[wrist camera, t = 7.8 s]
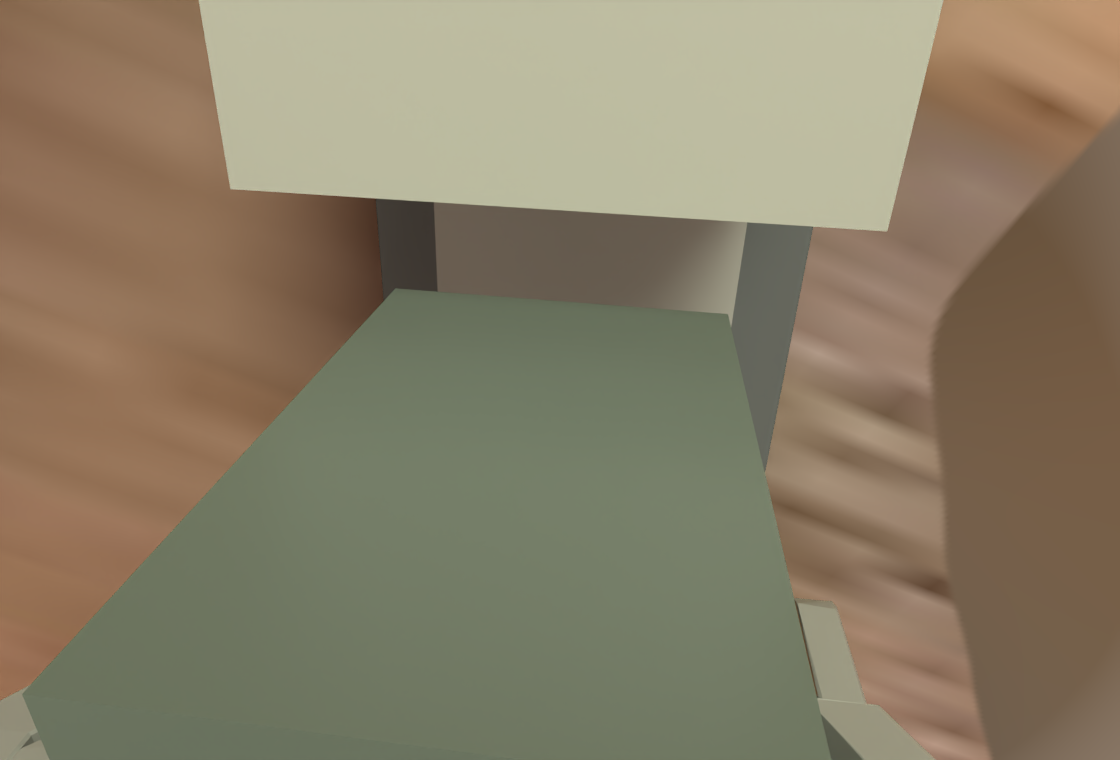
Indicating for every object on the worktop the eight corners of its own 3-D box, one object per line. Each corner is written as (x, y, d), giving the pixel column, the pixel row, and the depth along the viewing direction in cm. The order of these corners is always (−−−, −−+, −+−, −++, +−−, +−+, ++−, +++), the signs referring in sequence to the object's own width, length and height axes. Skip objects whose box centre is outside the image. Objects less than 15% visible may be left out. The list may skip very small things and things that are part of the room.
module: (395, 288, 11) (12, 703, 5) (728, 314, 11) (844, 812, 4) (418, 627, 14) (212, 1166, 8) (676, 658, 14) (693, 1255, 7)
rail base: (355, -294, 14) (-27, -665, 6) (900, -290, 13) (1262, -713, 5) (420, 632, 25) (313, 922, 17) (719, 666, 24) (750, 987, 16)
